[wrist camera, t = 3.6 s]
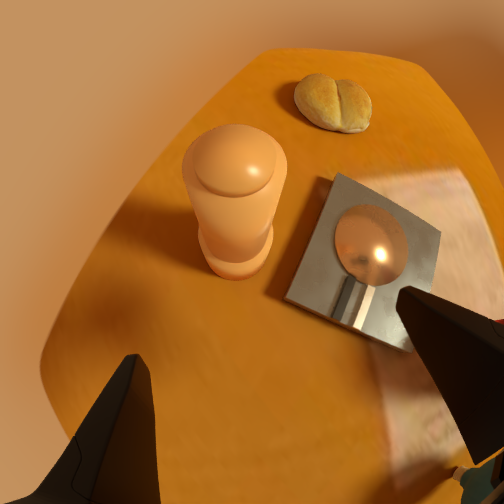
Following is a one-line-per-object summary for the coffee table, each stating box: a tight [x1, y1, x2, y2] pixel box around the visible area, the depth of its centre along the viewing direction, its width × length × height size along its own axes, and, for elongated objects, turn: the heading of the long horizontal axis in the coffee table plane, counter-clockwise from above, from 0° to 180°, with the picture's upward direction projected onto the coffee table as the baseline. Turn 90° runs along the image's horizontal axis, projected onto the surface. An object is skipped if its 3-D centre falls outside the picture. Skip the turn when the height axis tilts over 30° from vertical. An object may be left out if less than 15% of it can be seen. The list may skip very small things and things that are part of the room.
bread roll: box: [294, 74, 372, 133], centre depth 25 cm, size 8×9×4 cm
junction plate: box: [283, 173, 441, 353], centre depth 21 cm, size 12×12×2 cm
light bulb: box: [453, 457, 496, 504], centre depth 10 cm, size 8×8×12 cm
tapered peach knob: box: [182, 124, 287, 281], centre depth 16 cm, size 5×5×13 cm
